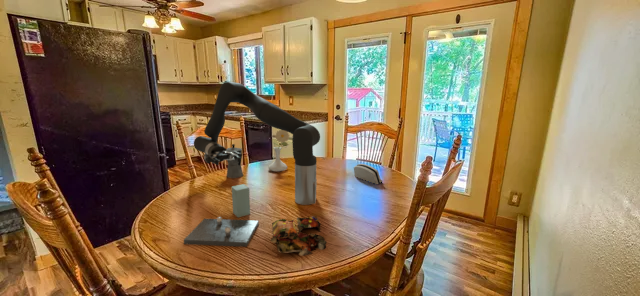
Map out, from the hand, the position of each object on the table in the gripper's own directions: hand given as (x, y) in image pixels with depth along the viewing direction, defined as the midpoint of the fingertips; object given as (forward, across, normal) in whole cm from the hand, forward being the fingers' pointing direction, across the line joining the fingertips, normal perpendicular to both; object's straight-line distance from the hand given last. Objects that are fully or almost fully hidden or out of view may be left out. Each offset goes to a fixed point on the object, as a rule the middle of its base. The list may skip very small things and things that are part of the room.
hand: (228, 161), depth 109 cm
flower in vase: (-29, +40, +20) cm, 53 cm away
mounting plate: (+23, -10, +18) cm, 31 cm away
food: (+39, +9, +18) cm, 44 cm away
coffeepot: (-33, +15, +20) cm, 42 cm away
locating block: (+12, 0, +18) cm, 22 cm away
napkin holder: (+14, +71, +18) cm, 74 cm away
